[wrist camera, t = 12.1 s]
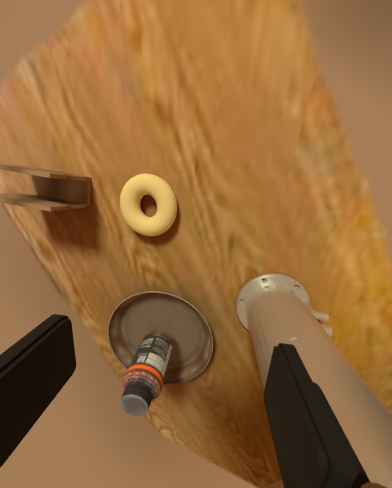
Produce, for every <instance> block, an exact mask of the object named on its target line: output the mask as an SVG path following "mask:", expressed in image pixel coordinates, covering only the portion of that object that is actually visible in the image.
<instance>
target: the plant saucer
mask: <svg viewBox="0 0 392 488" xmlns="http://www.w3.org/2000/svg"><path fill="white" fill-rule="evenodd" d="M107 331H108V340H109V344H110V347H111V350H112V352H113V354H114V355H115V357H116V358H117V360H118V361H119V362H120V363H121V364H122V366H123V367H125V368H126V369H127V370H128V368H129V366H130V364H131V362H132V360H133V358H134V356H135V354H136V352H137V350H138V348H139V346H140V344H141V342H142V340H143V338H144V336H145V335H146V334H147V333H149V332H152V331H160V332H163V333H165V334H167V335H168V336H169V337H170V338H171V340H172V343H173V350H172V354H171V358H170V361H169V364H168V368H167V372H166V375H165V379H164V382H163V384H164V385H172V384H179V383H183V382H186V381H189V380H191V379H193V378H195V377H196V376H198V375H199V374H200V373H201V372H202V371H203V370H204V369H205V368H206V366H207V365H208V363H209V361H210V359H211V356H212V352H213V337H212V333H211V330H210V327H209V325H208V323H207V321H206V320H205V318H204V317H203V315H202V314H201V313H200V312H199V311H198V310H197V309H196V308H195V307H194V306H193V305H192V304H190V303H189V302H188V301H186V300H184V299H182V298H181V297H178V296H176V295H173V294H170V293H166V292H159V291H149V292H141V293H137V294H134V295H132V296H130V297H128V298H126V299H125V300H123V301H122V302H121V303H120V304H119V305H118V306H117V307H116V308H115V309H114V311H113V312H112V314H111V316H110V319H109V322H108V330H107Z"/></svg>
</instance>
